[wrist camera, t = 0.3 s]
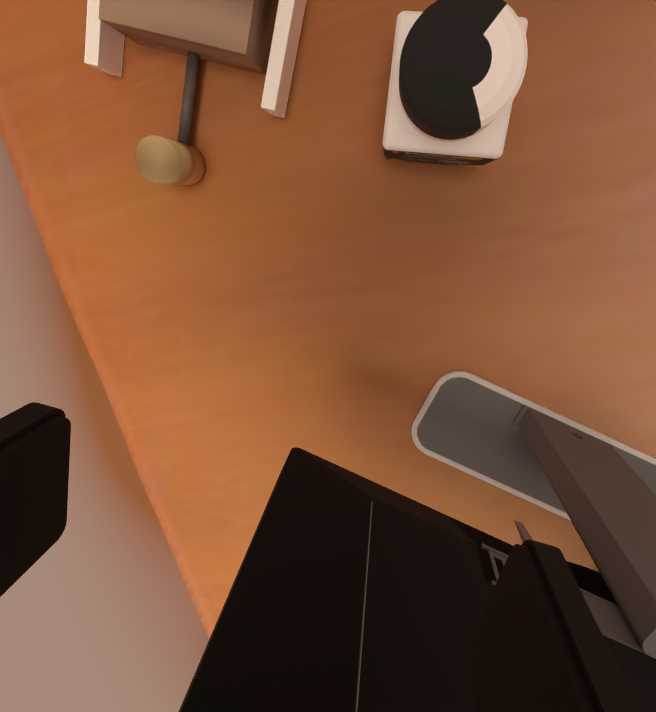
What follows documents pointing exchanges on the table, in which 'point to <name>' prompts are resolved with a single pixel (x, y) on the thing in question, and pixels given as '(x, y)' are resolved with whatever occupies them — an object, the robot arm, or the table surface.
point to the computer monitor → (426, 566)
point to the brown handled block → (192, 61)
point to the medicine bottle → (454, 82)
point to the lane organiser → (109, 47)
